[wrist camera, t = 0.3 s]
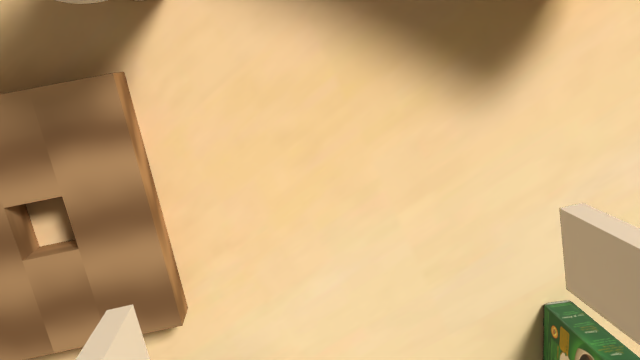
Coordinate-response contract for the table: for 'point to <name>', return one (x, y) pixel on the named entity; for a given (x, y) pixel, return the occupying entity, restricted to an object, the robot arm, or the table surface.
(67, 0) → the coffee cup
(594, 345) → the coffee box
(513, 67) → the table surface
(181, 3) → the table surface
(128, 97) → the hole board
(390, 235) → the table surface
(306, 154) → the table surface
